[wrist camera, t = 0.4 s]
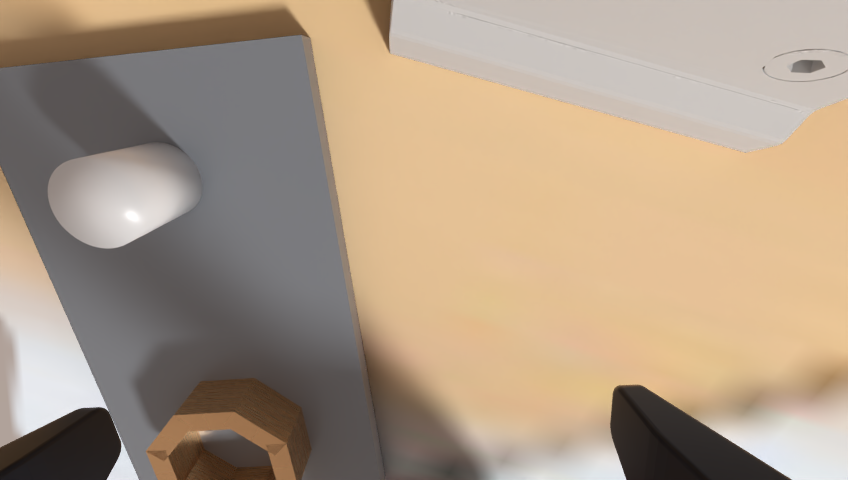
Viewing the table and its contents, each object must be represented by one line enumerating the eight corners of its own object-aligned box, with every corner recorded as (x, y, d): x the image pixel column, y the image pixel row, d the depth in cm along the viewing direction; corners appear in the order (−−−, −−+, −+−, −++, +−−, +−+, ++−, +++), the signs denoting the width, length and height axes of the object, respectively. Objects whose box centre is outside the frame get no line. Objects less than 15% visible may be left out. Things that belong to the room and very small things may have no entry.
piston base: (385, 475, 26) (372, 567, 21) (162, 485, 26) (100, 577, 21) (310, 38, 17) (260, 20, 12) (-12, 73, 18) (-177, 69, 13)
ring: (318, 476, 24) (306, 517, 22) (199, 482, 24) (175, 522, 22) (293, 375, 22) (277, 409, 19) (162, 383, 22) (131, 417, 20)
